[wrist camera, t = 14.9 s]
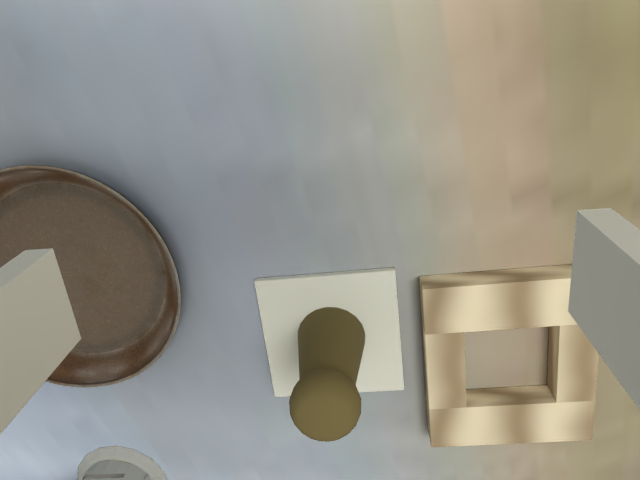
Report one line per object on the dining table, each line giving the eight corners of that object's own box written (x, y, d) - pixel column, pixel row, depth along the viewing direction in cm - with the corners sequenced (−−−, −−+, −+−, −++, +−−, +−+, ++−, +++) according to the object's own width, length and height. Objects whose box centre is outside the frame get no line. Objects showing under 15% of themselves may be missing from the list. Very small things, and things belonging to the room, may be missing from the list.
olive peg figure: (359, 371, 48) (359, 461, 38) (293, 360, 49) (275, 447, 38) (371, 312, 46) (374, 392, 36) (302, 301, 46) (286, 378, 36)
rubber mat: (275, 392, 51) (275, 397, 50) (255, 278, 46) (254, 281, 46) (403, 385, 49) (404, 389, 49) (394, 267, 45) (395, 270, 45)
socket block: (428, 428, 51) (431, 447, 49) (419, 276, 45) (422, 289, 43) (581, 420, 50) (592, 439, 47) (591, 262, 44) (604, 275, 42)
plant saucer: (217, 353, 50) (208, 374, 47) (17, 381, 53) (-4, 402, 50) (149, 135, 43) (133, 143, 40) (-78, 180, 46) (-110, 190, 42)
